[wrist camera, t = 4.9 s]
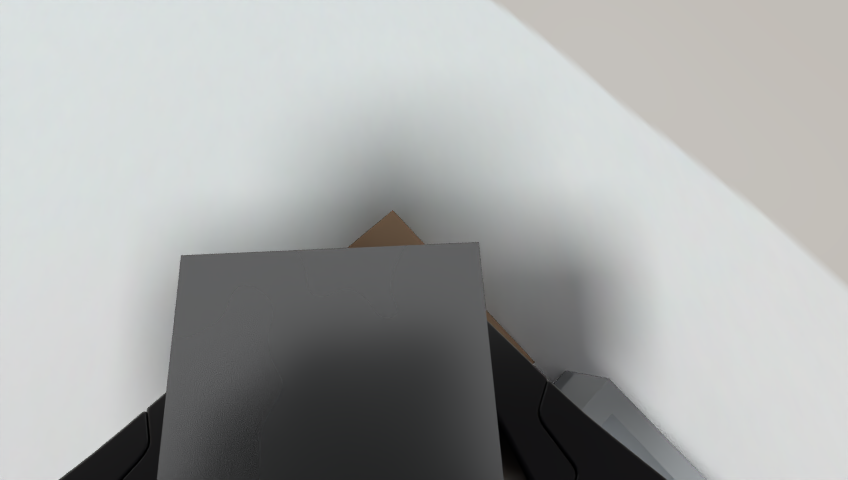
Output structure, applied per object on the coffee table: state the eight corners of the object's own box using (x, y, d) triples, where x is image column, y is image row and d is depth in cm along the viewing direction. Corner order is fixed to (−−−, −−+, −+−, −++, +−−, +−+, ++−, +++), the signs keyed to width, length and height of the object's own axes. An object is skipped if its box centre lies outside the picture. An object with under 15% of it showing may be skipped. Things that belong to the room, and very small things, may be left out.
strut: (450, 419, 15) (642, 708, 3) (317, 430, 14) (-21, 813, 3) (440, 289, 16) (551, 159, 4) (319, 296, 16) (95, 171, 4)
